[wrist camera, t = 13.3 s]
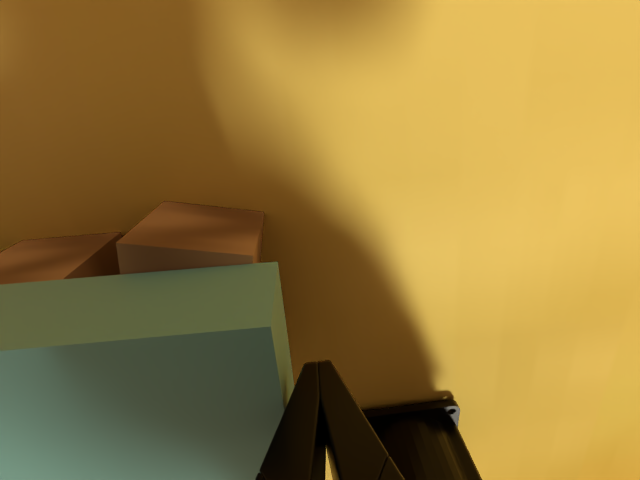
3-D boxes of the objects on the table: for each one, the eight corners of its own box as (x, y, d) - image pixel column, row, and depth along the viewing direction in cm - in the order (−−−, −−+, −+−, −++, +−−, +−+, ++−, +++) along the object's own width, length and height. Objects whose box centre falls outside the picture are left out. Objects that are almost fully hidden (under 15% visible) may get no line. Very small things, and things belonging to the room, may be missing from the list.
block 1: (121, 230, 13) (57, 283, 10) (172, 367, 17) (139, 443, 13) (24, 238, 13) (-78, 295, 10) (96, 374, 17) (40, 453, 13)
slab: (277, 261, 10) (270, 326, 7) (301, 439, 14) (303, 524, 11) (-336, 312, 9) (-595, 404, 7) (-128, 483, 13) (-236, 585, 10)
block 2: (264, 210, 13) (253, 255, 10) (254, 350, 17) (242, 422, 13) (166, 199, 13) (115, 242, 9) (175, 346, 16) (141, 419, 13)
